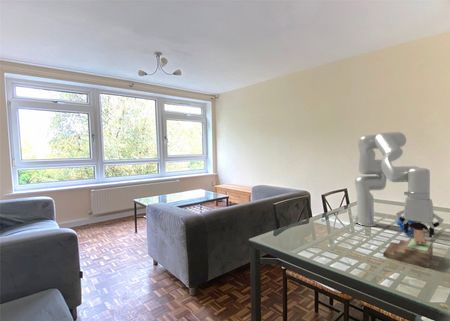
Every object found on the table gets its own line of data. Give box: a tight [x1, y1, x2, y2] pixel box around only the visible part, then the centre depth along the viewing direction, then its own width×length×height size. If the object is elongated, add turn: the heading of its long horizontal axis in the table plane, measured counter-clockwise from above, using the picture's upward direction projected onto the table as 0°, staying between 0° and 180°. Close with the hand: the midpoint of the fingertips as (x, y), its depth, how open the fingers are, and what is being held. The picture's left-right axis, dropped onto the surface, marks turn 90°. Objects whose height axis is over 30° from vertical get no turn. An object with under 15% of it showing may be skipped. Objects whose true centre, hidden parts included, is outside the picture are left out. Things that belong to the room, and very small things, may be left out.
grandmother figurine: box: [408, 221, 429, 244], centre depth 107 cm, size 8×4×13 cm, turn 65°
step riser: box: [383, 237, 434, 269], centre depth 110 cm, size 16×16×6 cm
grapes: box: [395, 214, 417, 238], centre depth 132 cm, size 12×7×12 cm, turn 37°
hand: (418, 233), depth 107 cm, fingers closed on grandmother figurine, 7 cm apart
